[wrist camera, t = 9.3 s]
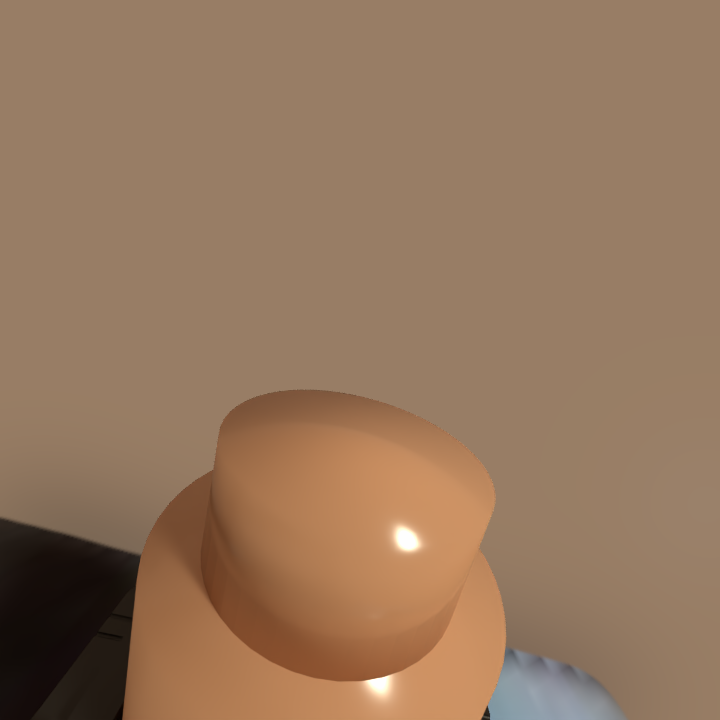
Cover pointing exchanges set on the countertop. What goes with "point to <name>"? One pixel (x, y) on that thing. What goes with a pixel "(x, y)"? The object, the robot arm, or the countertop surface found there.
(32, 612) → the countertop surface
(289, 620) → the peach capped cylinder
